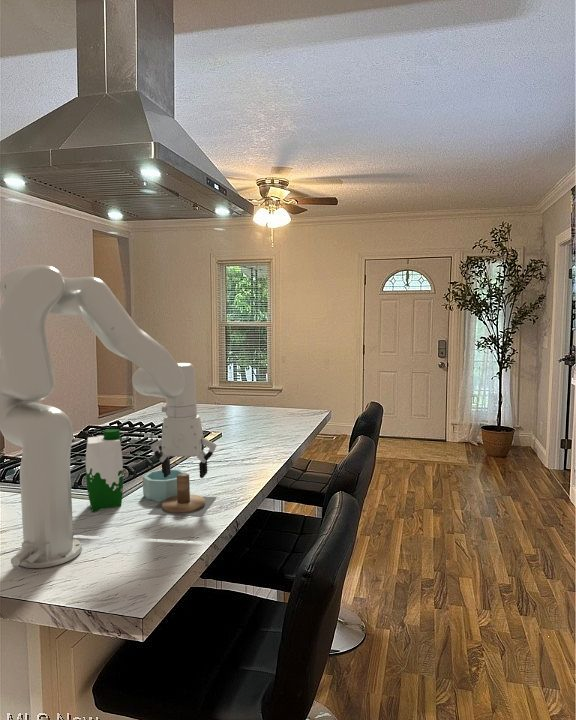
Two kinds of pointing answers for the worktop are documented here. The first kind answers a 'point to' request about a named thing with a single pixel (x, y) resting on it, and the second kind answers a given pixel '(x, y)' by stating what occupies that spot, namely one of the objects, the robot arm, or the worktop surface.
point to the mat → (159, 511)
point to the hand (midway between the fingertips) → (185, 476)
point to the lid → (183, 498)
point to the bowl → (160, 484)
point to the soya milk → (104, 470)
